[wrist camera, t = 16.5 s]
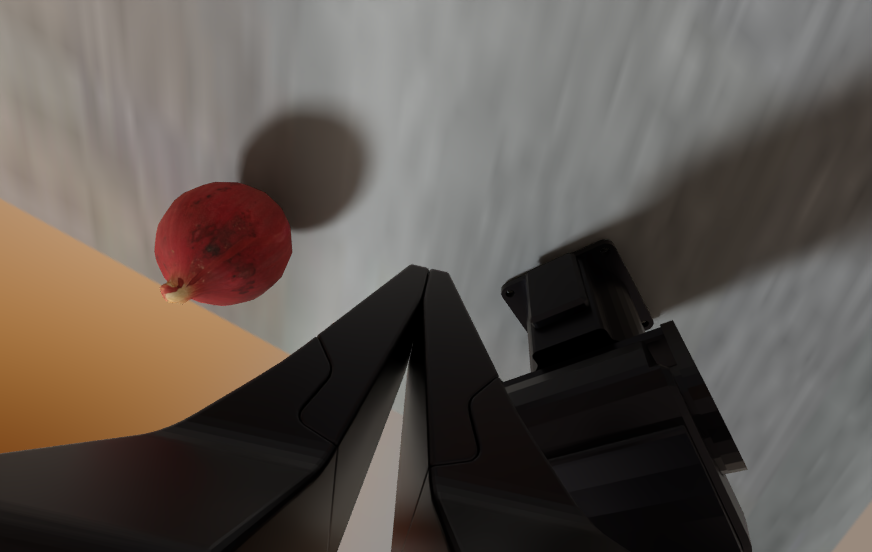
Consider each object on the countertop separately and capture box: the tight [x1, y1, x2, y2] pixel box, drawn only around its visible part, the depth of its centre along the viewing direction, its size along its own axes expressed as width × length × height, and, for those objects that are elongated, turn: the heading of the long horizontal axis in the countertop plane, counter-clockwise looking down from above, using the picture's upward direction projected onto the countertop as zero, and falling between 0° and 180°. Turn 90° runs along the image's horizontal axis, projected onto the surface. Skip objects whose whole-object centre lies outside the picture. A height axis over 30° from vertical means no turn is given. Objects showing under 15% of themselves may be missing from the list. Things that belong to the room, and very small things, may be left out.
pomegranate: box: [155, 182, 292, 306], centre depth 21 cm, size 6×6×8 cm
